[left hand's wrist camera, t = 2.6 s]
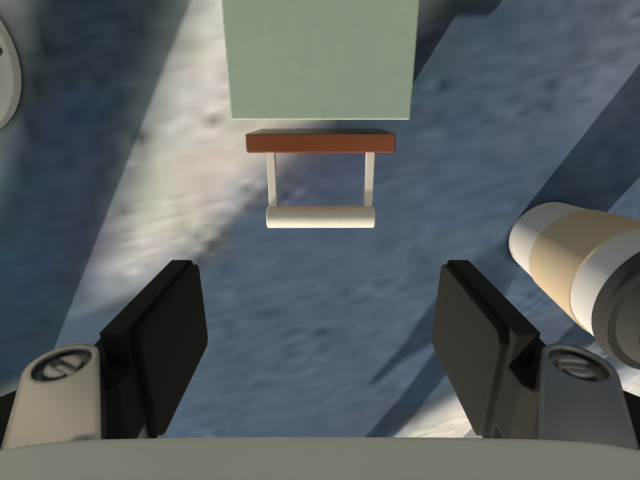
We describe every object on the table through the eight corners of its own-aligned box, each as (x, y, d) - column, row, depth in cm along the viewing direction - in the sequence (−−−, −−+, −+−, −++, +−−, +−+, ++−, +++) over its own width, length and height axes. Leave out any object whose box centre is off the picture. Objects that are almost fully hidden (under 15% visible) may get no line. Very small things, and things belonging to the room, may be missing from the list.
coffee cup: (610, 243, 34) (818, 338, 20) (525, 296, 36) (659, 416, 22) (568, 169, 31) (771, 217, 17) (479, 230, 33) (596, 318, 19)
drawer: (374, 213, 32) (388, 240, 25) (266, 213, 32) (252, 240, 25) (393, -128, 24) (421, -218, 17) (247, -128, 24) (220, -217, 17)
